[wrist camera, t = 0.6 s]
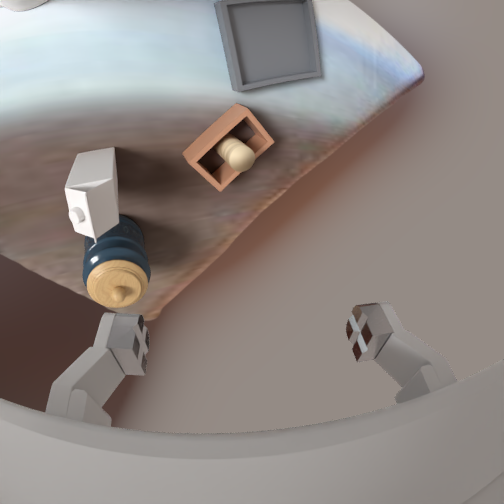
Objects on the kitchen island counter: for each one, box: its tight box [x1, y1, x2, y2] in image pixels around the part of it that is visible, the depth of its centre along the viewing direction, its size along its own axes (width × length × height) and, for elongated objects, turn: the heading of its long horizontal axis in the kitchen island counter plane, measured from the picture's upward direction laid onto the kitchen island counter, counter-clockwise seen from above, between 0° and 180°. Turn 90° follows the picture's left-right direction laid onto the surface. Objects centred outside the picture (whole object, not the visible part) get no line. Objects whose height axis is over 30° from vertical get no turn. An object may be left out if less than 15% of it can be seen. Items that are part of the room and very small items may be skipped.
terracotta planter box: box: [182, 103, 274, 192], centre depth 51 cm, size 9×14×6 cm, turn 127°
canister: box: [83, 215, 151, 308], centre depth 49 cm, size 13×13×18 cm
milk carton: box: [65, 147, 119, 243], centre depth 38 cm, size 7×7×19 cm
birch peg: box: [213, 133, 255, 172], centre depth 49 cm, size 4×4×10 cm
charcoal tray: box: [214, 0, 321, 92], centre depth 41 cm, size 18×18×3 cm
